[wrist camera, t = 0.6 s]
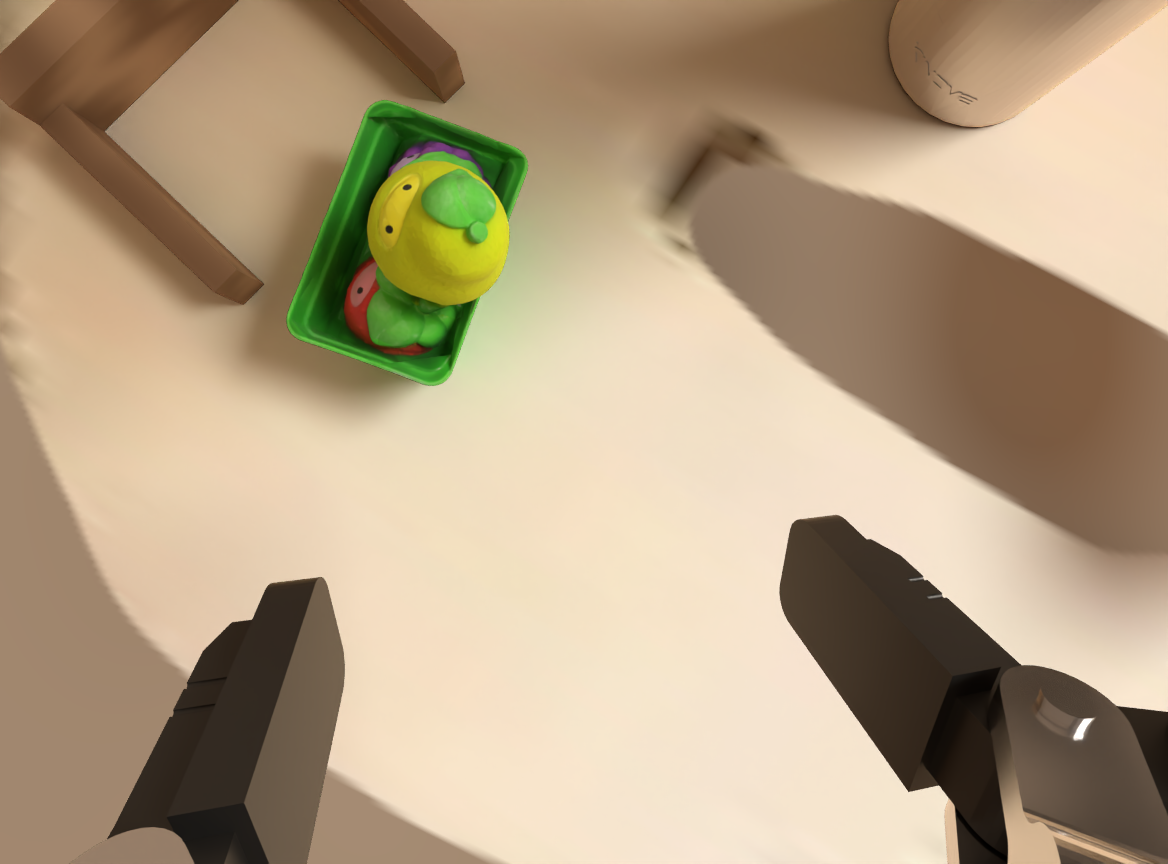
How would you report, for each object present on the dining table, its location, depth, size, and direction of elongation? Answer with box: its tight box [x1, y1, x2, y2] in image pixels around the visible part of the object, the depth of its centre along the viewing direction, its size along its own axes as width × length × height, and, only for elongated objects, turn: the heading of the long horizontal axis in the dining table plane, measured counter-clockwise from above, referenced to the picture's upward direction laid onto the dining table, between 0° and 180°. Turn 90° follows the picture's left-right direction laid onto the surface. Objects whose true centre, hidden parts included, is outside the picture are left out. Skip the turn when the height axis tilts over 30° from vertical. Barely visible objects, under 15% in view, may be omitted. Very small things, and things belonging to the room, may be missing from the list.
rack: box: [0, 0, 465, 305], centre depth 29 cm, size 16×14×4 cm
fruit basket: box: [286, 100, 528, 386], centre depth 25 cm, size 11×9×11 cm
